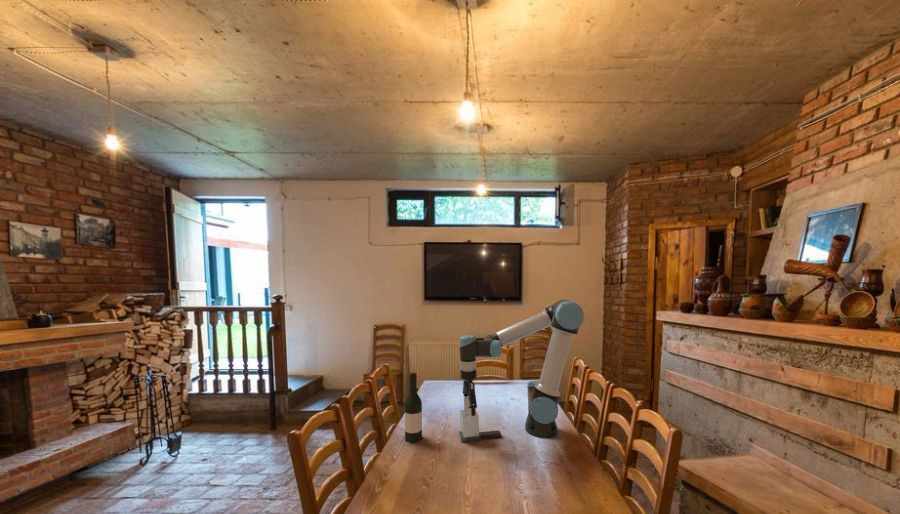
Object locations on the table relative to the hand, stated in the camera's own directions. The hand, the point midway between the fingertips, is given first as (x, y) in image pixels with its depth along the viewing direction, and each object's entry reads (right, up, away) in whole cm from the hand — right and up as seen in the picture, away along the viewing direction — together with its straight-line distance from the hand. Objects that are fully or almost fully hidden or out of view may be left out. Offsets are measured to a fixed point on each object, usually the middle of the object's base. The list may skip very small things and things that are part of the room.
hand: (470, 416), depth 151 cm
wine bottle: (-26, -11, 0) cm, 28 cm away
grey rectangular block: (0, -7, -1) cm, 7 cm away
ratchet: (+5, -10, 0) cm, 11 cm away
